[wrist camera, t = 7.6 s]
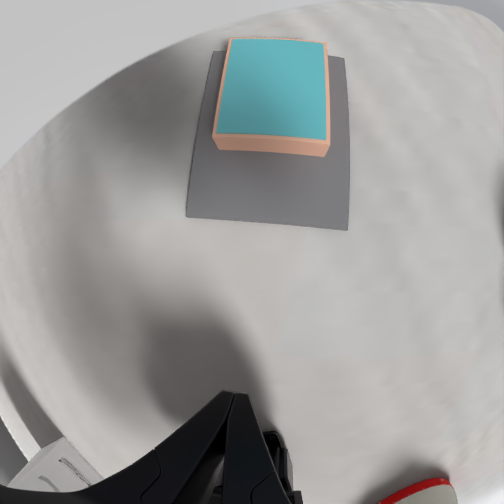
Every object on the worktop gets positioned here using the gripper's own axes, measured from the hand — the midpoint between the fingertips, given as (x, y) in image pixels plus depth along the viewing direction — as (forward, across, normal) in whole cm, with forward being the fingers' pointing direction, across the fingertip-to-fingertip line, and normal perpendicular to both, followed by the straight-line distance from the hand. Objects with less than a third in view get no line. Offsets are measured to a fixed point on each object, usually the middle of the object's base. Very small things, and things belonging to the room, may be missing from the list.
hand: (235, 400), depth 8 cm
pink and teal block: (+13, 0, -9) cm, 16 cm away
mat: (+16, 0, -12) cm, 19 cm away
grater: (+5, +24, +30) cm, 39 cm away
